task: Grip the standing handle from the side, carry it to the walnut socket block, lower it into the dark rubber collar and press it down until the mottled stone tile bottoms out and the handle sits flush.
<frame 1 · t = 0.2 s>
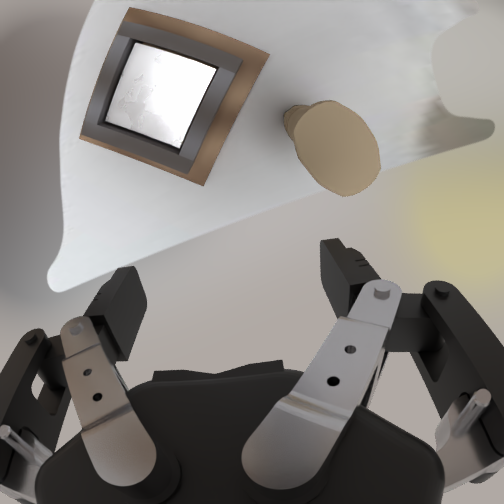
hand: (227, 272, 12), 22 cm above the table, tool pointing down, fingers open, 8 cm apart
mottled stone tile: (157, 93, 24), point 4 cm above the table, slide at 2.0 cm
socket base: (167, 92, 27), on the table
handle: (296, 119, 30), on the table
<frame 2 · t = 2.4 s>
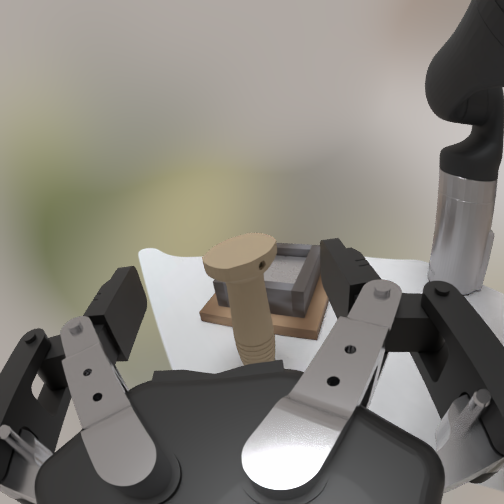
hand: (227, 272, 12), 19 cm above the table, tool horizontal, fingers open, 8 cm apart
mottled stone tile: (272, 272, 42), point 4 cm above the table, slide at 2.0 cm
socket base: (274, 294, 44), on the table
handle: (260, 370, 31), on the table
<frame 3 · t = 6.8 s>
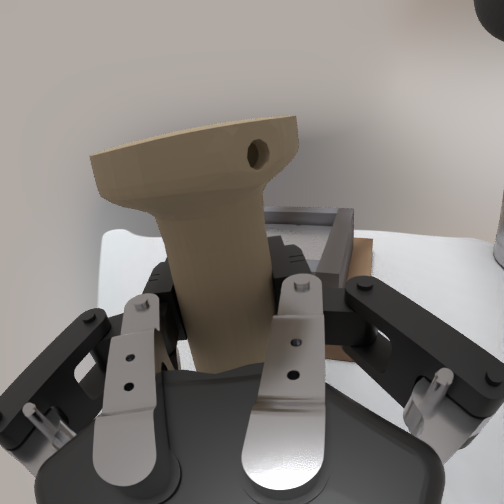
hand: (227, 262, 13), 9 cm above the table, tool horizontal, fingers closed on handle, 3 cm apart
mottled stone tile: (278, 247, 25), point 4 cm above the table, slide at 2.0 cm
socket base: (281, 285, 27), on the table
handle: (256, 425, 15), on the table, touching gripper
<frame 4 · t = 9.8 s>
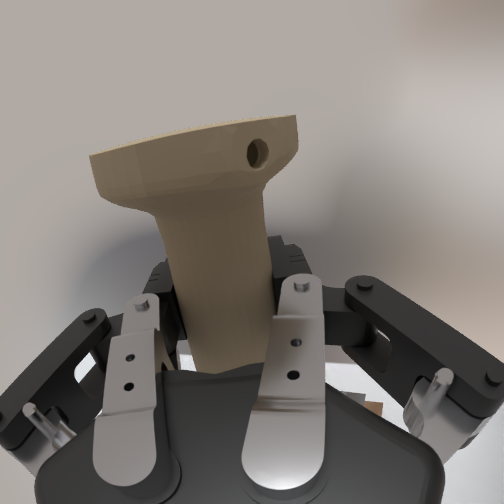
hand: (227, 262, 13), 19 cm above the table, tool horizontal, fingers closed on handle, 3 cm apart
socket base: (270, 470, 19), on the table
handle: (257, 424, 15), point 9 cm above the table, touching gripper
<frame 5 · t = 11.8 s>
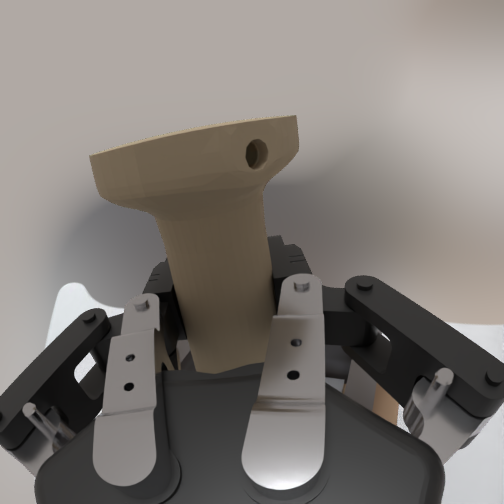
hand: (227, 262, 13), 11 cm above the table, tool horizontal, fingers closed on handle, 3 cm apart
mottled stone tile: (258, 424, 15), point 2 cm above the table, slide at 0.0 cm, touching handle, socket base
socket base: (261, 437, 16), on the table
handle: (257, 425, 15), point 2 cm above the table, touching gripper, mottled stone tile
when the fingers open (11 cm above the table, at t = 12.7 s): handle stays where it is, resting on mottled stone tile.
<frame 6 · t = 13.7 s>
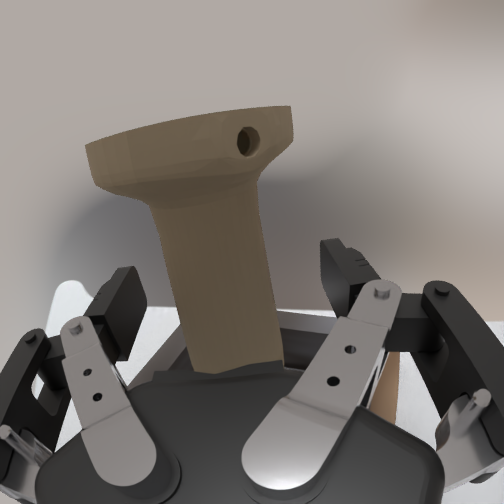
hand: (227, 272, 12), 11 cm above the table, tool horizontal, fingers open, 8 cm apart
mottled stone tile: (255, 420, 15), point 2 cm above the table, slide at 0.0 cm, touching handle, socket base
socket base: (259, 434, 16), on the table
handle: (253, 421, 15), point 2 cm above the table, touching mottled stone tile
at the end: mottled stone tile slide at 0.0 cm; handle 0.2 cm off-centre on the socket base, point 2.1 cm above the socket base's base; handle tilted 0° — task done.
